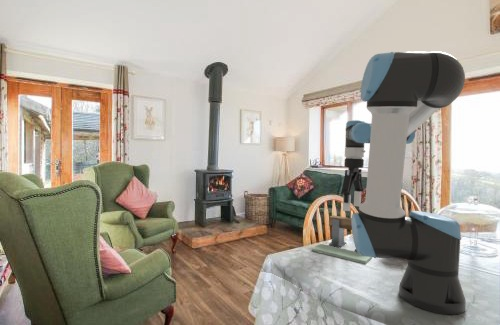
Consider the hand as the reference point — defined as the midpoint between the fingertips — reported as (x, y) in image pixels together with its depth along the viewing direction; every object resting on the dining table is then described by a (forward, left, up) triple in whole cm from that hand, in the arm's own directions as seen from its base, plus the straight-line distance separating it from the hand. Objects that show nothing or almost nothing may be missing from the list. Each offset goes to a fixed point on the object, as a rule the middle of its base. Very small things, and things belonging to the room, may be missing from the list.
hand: (352, 208), depth 121 cm
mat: (-11, 0, -17) cm, 20 cm away
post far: (0, +5, -17) cm, 17 cm away
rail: (0, 0, -9) cm, 9 cm away
